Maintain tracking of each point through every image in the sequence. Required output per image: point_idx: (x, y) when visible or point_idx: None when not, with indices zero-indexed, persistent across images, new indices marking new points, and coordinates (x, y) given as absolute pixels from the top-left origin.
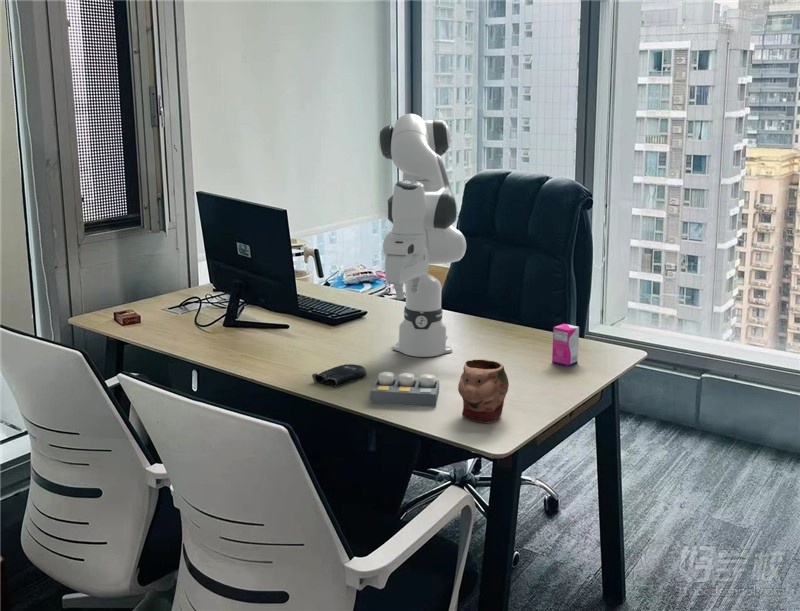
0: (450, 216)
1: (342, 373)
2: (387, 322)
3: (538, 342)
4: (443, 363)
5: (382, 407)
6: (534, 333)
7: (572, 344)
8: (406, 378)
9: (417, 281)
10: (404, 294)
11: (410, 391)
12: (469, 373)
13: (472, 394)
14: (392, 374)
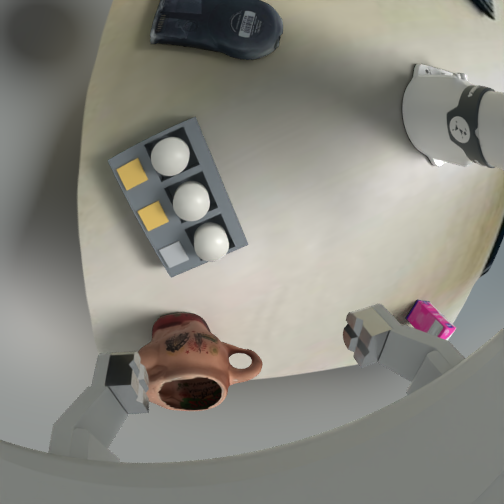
0: None
1: (200, 27)
2: (485, 44)
3: (470, 253)
4: (390, 171)
5: (111, 186)
6: (490, 235)
7: None
8: (175, 212)
9: (407, 367)
10: (145, 399)
11: (153, 230)
12: None
13: None
14: (178, 170)
